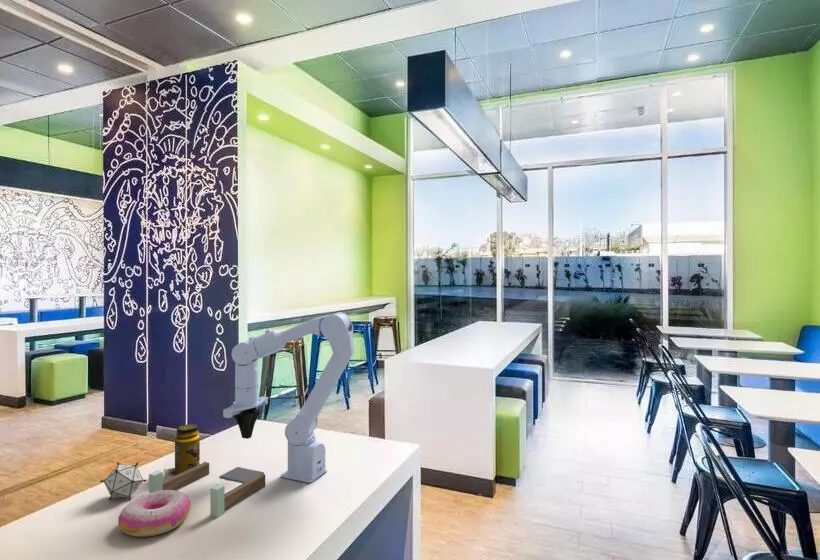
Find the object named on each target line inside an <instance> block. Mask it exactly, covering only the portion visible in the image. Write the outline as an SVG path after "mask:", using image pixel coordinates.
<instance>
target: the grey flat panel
mask: <svg viewBox="0 0 820 560" xmlns="http://www.w3.org/2000/svg"><path fill="white" fill-rule="evenodd" d="M260 473H261V474H265V472H264V471H260V470H255V469H249V468H245V467H241V466H237V467H236V466H235V468H233V469H231V470H229V471H226V472H225V473H223V474H222V475H220V476H218V477H219V478H220V479H224V480H228V481H229V480H230V481H235V482H239V483H241V484H243V483H245V482H246V481H248V480H250V479H252V478H253V477H255V476H257V475H259V474H260Z"/></svg>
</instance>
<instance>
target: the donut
mask: <svg viewBox="0 0 820 560" xmlns="http://www.w3.org/2000/svg"><path fill="white" fill-rule="evenodd" d="M191 505H192V503H191V499H190V498H189V495H187V493H184V492H182V491H180V490H162V491H156V492H152V493H149V492H148V493H146V494H144V495H141V496H138V497H136V498H135V499H133V500H131V501H130V502H129V503H127V504H126V506H125V507H123V508H122V509H121V511H120V514H119V516H118V519H117V520H118V527H119V529H120V531H121V532H123V533H125V534H127V535H129V536H132V537H136V538H137V537H138V538H147V537H154V536H159V535H163V534H165V533H167V532H171V531H172V530H174V529H175V528H176V529H177V527H179V526H180V525H182V523H184V521H185V520H186V519H187V517H189V514H190V512H191V509H192V507H191Z"/></svg>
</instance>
